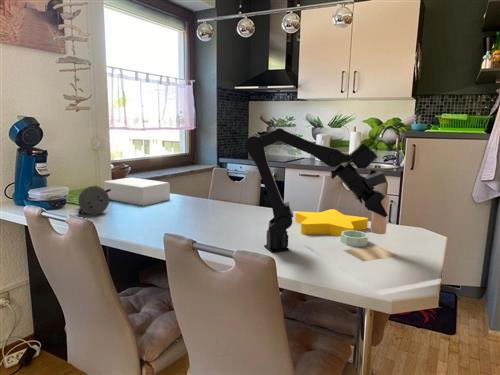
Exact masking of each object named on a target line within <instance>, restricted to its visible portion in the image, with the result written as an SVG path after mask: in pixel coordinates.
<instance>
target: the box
mask: <svg viewBox="0 0 500 375" xmlns="http://www.w3.org/2000/svg"><path fill="white" fill-rule="evenodd" d="M170 184H171V183H170V182H166V181H160V180H151V179H145V178H144V179H143V178H138V177H125V178H117V179H110V180H104V181H103V187H104V188H103V189H104V190H105V191H106V190H108V189H111V191H109V192H107V194H108V196H109V200H113V201H117V202H122V203H127V204H133V205H137V204H138V206H142V205H143V206H144V205H145V206H149V205H153V204H156V203H160V202H161V201H162V202H165V200H166V201H169V199H170V200H171V185H170ZM162 202H161V203H162ZM148 204H149V205H148ZM143 206H142V207H143Z"/></svg>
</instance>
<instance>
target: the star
mask: <svg viewBox="0 0 500 375" xmlns="http://www.w3.org/2000/svg"><path fill="white" fill-rule="evenodd" d="M294 213H295V216H294V222H295V223H297V224H299V225H300V234H301V235H319V234H321V235H322V234H324V235H325V234H326V235H327V234H328V235H332V236H335V237H341V233H342V231H348V230H354V231H360V230H366V229H367V230H368V222H369V218H368V217H365V216H364V217H363V216H355V215H348V214H343V213H342V212H339V211H338V210H337V209H334V208H333V209H331V208H330V209H328V210H324V211H320V212H315V211H314V212H312V211H311V212H310V211H295V212H294Z"/></svg>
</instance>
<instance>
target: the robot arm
mask: <svg viewBox="0 0 500 375" xmlns="http://www.w3.org/2000/svg"><path fill="white" fill-rule="evenodd" d="M278 142H282V143H284V144H286V145H288V146H290V147H292V148H295V149H298V150H300V151H303V152H304V153H306V154H310V155H312V156H313V157H314V158H316V159H317V160H319V161H320V162H322V163H323V164H325V165H327V166H328V167H330V168H334V169H330V170H329V171H330V174H329V178H331V179H333V180H334V179H335V178H336V177H338V179H339V180H340V181H341V182H342V183H343V184H344V185H345V187H346V188H347V189H348V190H349V191H350V192H351V193H352V196H353V197H354V198H355V199H356V200H357V201H359V203H360V204H362V206H363V207H364V208H365V209H367V210H368V211H371V212H372V211H373V212H375V213H377V214H379V215H381V216H383V217H386V216H388V217H389V215H387V213H386V211H385V209H384V207H383V205H382V203H381V201H382V200H383V199H384V196H383V195H382V194H381V192H382V191H379V190H374V189H376V188H375V186H379V185H381V184H385V183H387V182H388V179H387V178H386V175H385V172H384V171H382V170H377V171H376V170H375V169H369V170H368V174H367V175H366V176H363V175H362V174H360V173H359V172H358V170H365V169H367V167H369V166H370V165H371V164H372V163H373V162H374V161H376V160H377V159H378V158H379V157H378V156H377V154H376V153H375V152H374V151H373V150H372V149H370V148H369V147H368V146H367V145H366V144H365V143H364V142H361V143H360V144H359V145H358V146H357V147H356V148H355V149H354V150H353V151H351V152H350V153H347V152H342V151H340V150H339V149H337V148H335V147H331V146H325V145H321V144H317V143H314V142H311V141H309V140H307V139H305V138H303V137H300V136H298V135H296V134H293V133H291V132H288V131H287V130H285V129H283V128H280V127H279V128H276V129H274V130H272V131H270V132H268V133H265V134H262V135H260V136H259V135H256V134H255V135H254V134H253V135H252V136H249V137H248V138H247V139H246V141H245V144H244V146H245V150H246V152H247V153H248V155H249V156H250V158H251V159H252V161H253V162H254V163H255V165H256V167H257V170H258V172H259V175H260V177H261V180H262V183H263V185H264V188H265V190H266V193H267V196H268V199H269V201H270V203H271V209H272V213H273V217H272V218H271V219H270V220H269V221H268V228H267V230H266V244H263V245H264V246H263V247H265V249H267V250H268V251H270V252H271V253H279V252H286V251H287V252H288V251H290V249H289V235H288V231H287V230H288V229H290V228H291V226H293V218H294V212H293V210H292V208H291V207H290V201H287V202H285V201H284V199H283V198H282V196H281V193H280V191H279V188H278V185H277V182H276V181H275V177H274V175H273V174H274V173H273V172H272V170H271V167H270V164H269V162H268V157H267V151H266V147H268V146H271V145H273V144H275V143H278ZM343 163H344V164H343ZM353 165H354V166H353ZM356 168H357V169H356Z"/></svg>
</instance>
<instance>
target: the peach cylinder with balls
mask: <svg viewBox="0 0 500 375" xmlns="http://www.w3.org/2000/svg"><path fill="white" fill-rule="evenodd" d="M380 192H381V194H382V195H383V196H384V199H383V200H382V201H381V203H382V205H383V207H384V209H385V211H386V213H387V215H388V214H389V205H390V196H388V195H387V193H386V192H384V191H380ZM371 212H372V213H371V221H370V222H371V223H370V231H369V232H370V233H372V234H374V235H375V234H376V235H386V234H387V224H388V217H389V215H388V216H386V217H383V216H381V215H379V214H377V213H375V212H373V211H371Z"/></svg>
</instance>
